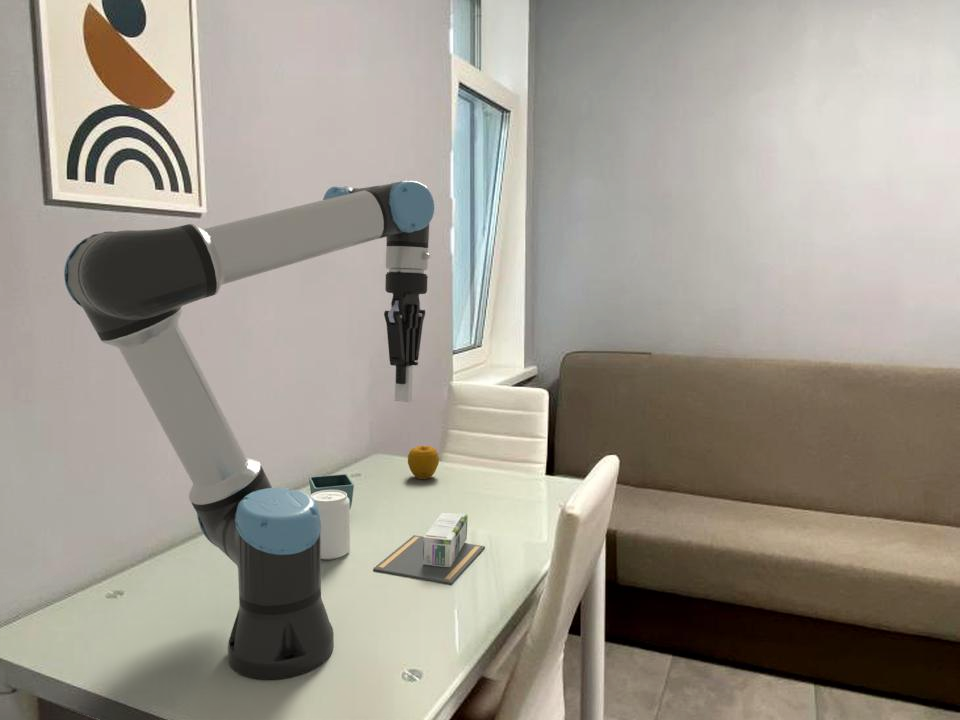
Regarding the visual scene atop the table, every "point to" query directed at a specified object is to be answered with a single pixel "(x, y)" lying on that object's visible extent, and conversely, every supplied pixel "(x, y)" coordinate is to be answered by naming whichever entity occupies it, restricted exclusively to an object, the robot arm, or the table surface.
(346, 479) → the flower pot
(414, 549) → the mat
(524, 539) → the table surface
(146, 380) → the robot arm
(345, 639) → the table surface
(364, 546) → the table surface
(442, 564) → the syrup box
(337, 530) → the beverage can
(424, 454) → the apple
